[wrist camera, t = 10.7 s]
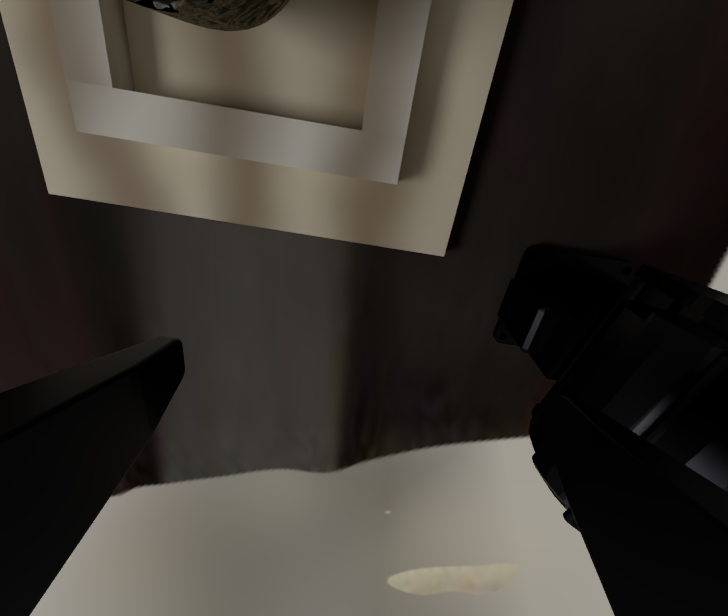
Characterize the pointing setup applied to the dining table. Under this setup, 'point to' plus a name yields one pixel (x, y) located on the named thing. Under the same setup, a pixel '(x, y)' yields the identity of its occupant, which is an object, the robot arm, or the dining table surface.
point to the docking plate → (264, 111)
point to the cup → (218, 12)
